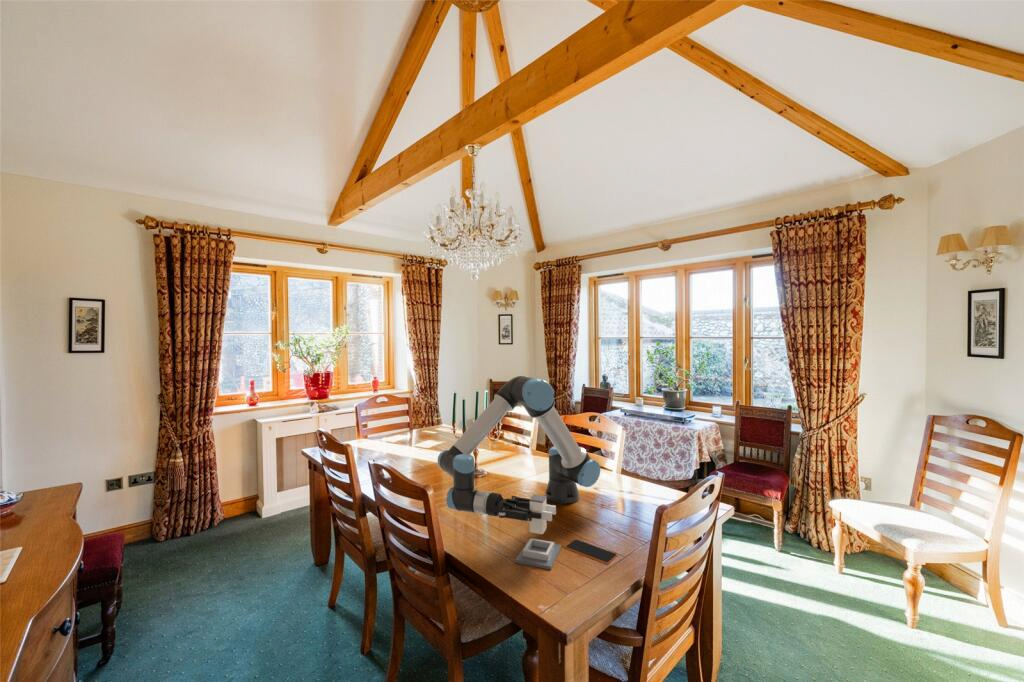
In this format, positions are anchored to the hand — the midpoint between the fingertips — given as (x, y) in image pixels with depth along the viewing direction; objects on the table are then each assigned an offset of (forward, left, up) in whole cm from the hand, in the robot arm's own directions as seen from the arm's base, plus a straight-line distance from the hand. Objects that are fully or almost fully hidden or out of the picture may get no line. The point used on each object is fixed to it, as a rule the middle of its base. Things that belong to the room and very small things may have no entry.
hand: (553, 513), depth 138 cm
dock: (0, -5, -15) cm, 16 cm away
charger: (0, -5, -6) cm, 8 cm away
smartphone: (-8, +11, -16) cm, 21 cm away
